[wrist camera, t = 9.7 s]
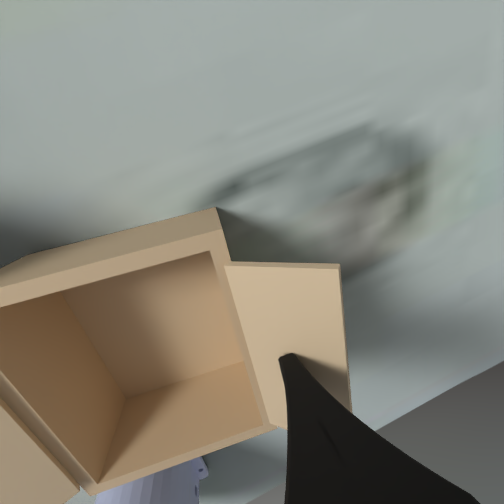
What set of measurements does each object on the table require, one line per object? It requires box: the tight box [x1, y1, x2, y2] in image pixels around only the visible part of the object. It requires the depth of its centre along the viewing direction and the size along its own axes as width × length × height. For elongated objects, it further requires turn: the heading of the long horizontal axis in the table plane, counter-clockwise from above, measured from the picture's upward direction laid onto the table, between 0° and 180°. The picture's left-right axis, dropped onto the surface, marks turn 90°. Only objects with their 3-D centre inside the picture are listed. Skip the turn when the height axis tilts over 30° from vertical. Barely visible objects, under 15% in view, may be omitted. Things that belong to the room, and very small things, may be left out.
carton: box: [0, 207, 277, 496], centre depth 15 cm, size 14×12×6 cm
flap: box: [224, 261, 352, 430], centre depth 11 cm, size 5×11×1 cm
